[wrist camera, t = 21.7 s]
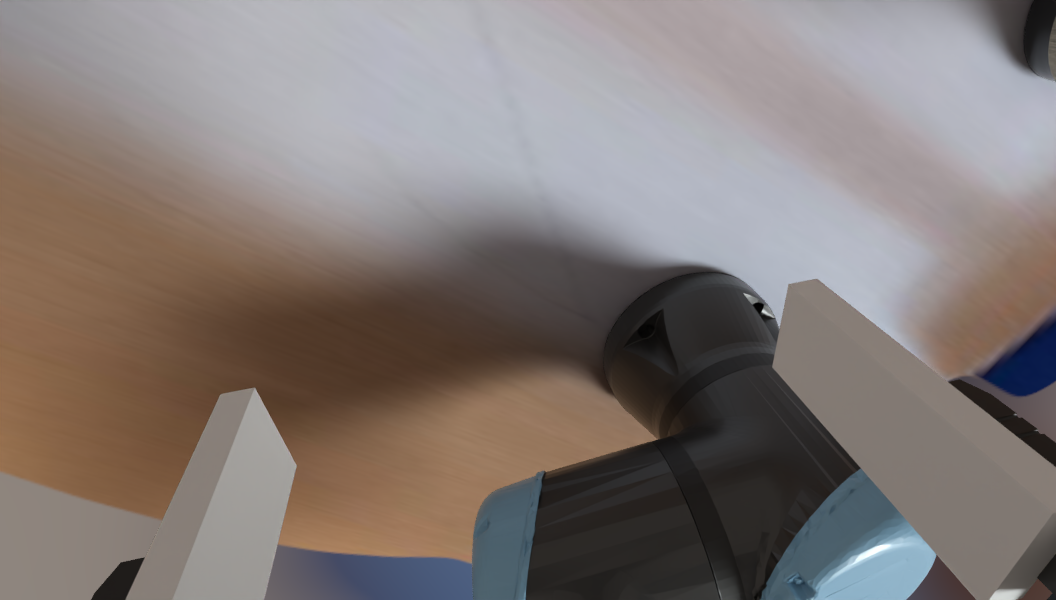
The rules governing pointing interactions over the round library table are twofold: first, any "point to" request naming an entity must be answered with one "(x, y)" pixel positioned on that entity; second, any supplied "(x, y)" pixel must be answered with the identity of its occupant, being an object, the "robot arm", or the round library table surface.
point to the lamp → (1041, 38)
